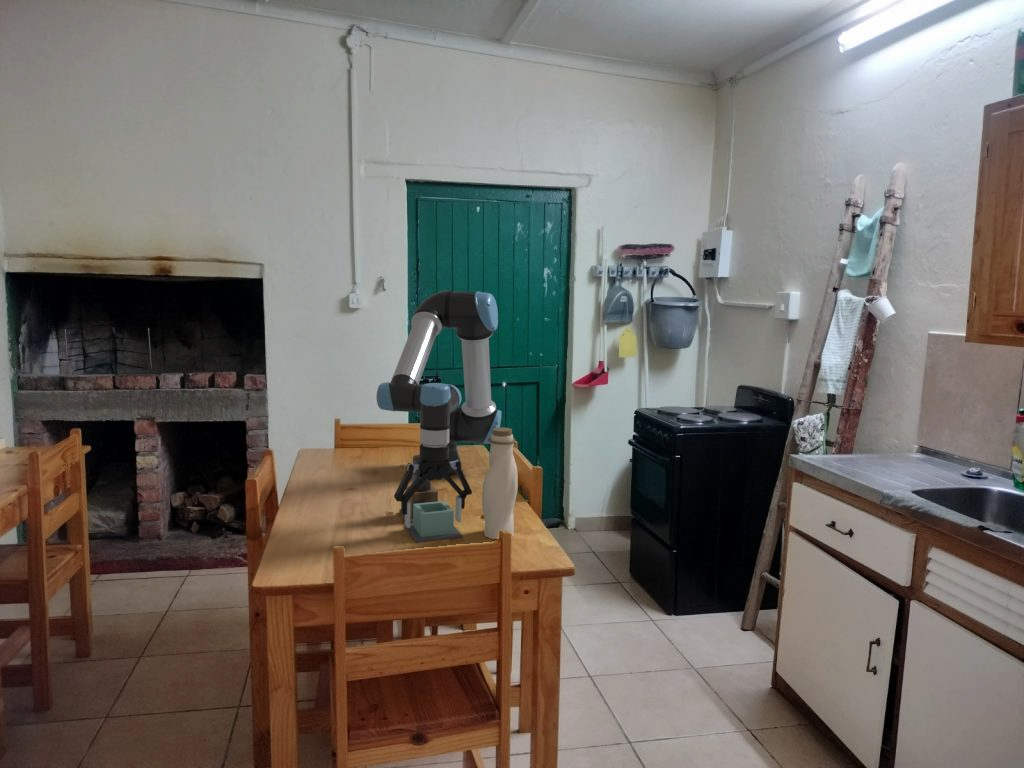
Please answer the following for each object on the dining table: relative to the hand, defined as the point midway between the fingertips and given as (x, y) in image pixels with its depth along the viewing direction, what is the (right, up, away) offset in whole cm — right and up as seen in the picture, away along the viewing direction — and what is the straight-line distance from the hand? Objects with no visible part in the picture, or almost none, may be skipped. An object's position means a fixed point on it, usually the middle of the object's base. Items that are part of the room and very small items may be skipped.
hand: (433, 523), depth 177 cm
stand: (-5, 0, +11) cm, 12 cm away
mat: (0, -2, 0) cm, 2 cm away
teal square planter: (0, -2, 0) cm, 2 cm away
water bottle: (+17, -3, +1) cm, 17 cm away
